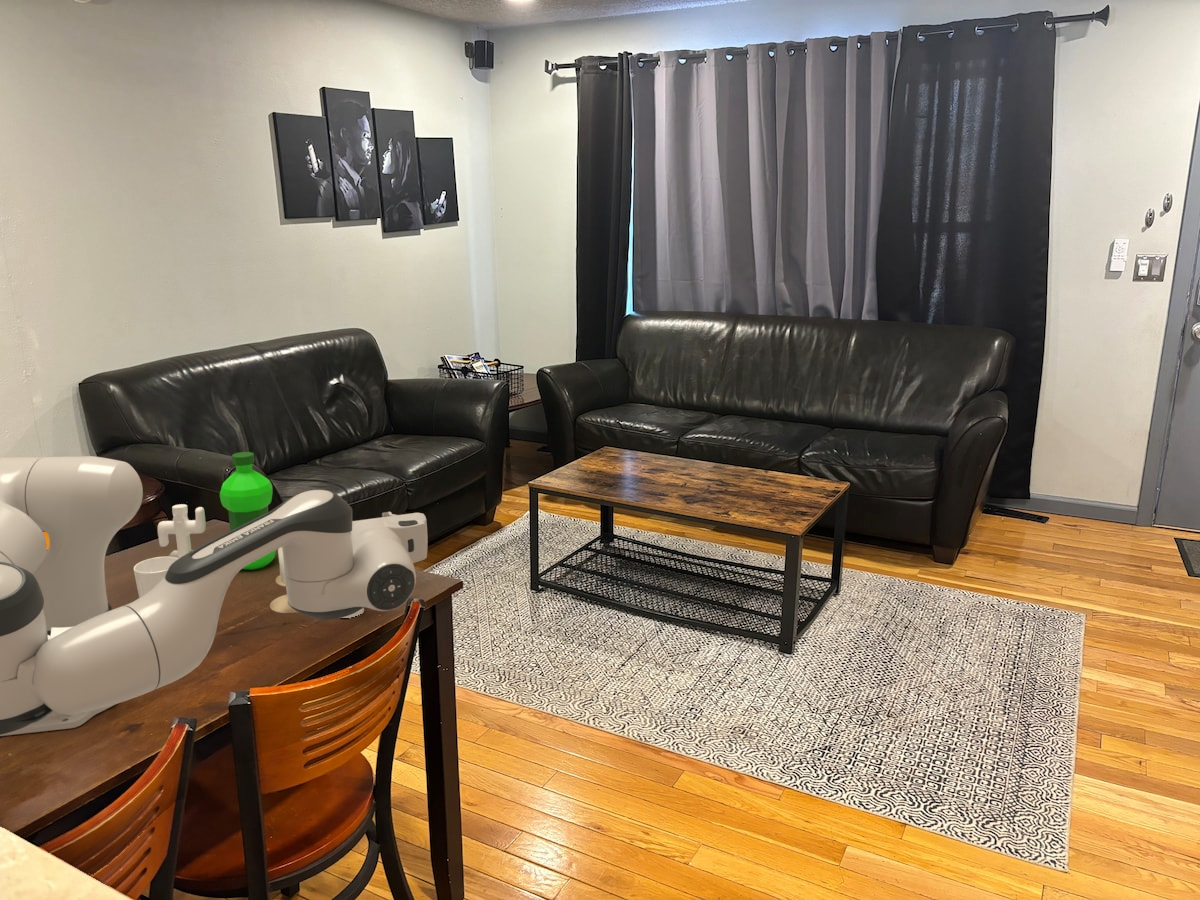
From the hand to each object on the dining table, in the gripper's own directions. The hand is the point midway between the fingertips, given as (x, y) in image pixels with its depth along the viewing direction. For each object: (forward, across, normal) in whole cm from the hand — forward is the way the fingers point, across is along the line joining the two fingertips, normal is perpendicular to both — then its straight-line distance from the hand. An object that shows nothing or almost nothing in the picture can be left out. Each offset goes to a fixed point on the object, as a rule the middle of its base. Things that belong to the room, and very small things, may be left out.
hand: (358, 519), depth 148 cm
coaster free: (+20, -11, -23) cm, 32 cm away
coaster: (+32, -9, -23) cm, 40 cm away
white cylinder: (+32, -9, -22) cm, 40 cm away
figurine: (+44, -30, -23) cm, 58 cm away
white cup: (+25, -34, -23) cm, 48 cm away
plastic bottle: (+42, -17, -23) cm, 51 cm away
